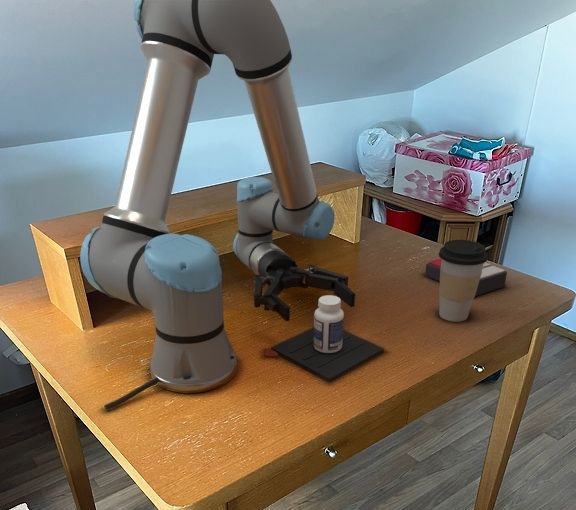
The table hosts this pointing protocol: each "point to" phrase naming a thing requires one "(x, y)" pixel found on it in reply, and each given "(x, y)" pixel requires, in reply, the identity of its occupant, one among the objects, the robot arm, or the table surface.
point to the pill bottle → (328, 324)
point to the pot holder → (325, 354)
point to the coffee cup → (459, 277)
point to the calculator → (488, 280)
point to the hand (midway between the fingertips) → (321, 307)
